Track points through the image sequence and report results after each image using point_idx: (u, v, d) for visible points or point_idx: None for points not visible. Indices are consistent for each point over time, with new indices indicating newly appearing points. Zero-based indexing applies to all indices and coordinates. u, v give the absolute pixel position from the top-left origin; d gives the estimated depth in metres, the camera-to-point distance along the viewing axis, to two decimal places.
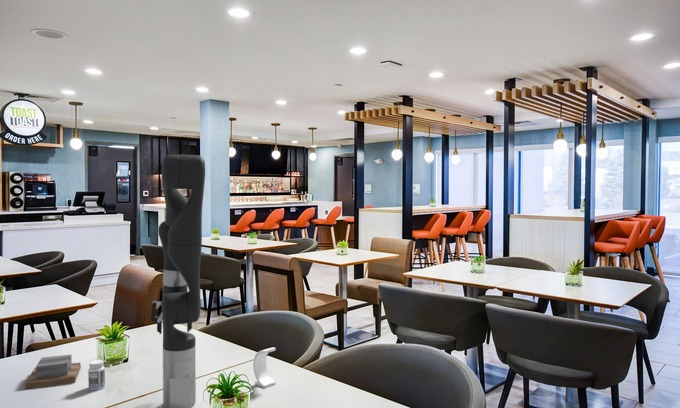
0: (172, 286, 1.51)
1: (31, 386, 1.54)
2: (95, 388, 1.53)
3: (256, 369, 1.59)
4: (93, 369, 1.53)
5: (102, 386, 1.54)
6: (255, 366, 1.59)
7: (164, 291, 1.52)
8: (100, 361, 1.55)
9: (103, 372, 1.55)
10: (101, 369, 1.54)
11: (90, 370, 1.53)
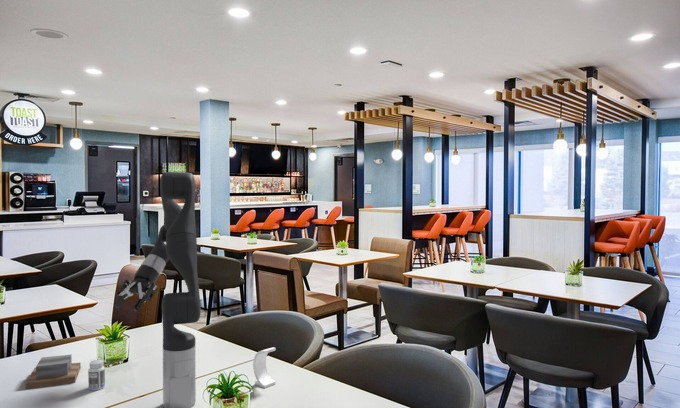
0: (142, 264, 1.73)
1: (31, 386, 1.54)
2: (95, 388, 1.53)
3: (256, 369, 1.59)
4: (93, 369, 1.53)
5: (102, 386, 1.54)
6: (255, 366, 1.59)
7: None
8: (100, 361, 1.55)
9: (103, 372, 1.55)
10: (101, 369, 1.54)
11: (90, 370, 1.53)
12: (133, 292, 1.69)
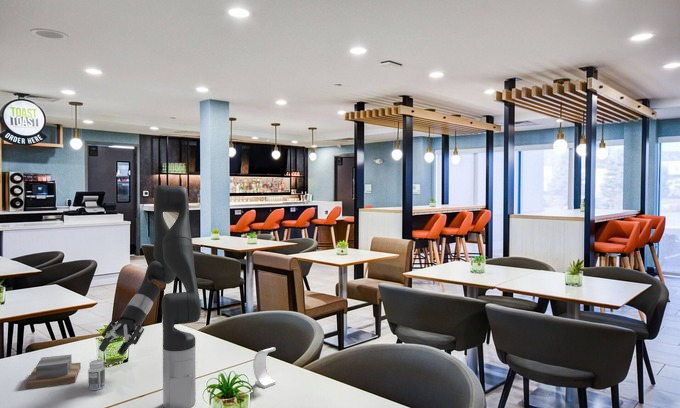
0: (129, 304, 1.68)
1: (31, 386, 1.54)
2: (95, 388, 1.53)
3: (256, 369, 1.59)
4: (93, 369, 1.53)
5: (102, 386, 1.54)
6: (255, 366, 1.59)
7: None
8: (100, 361, 1.55)
9: (103, 372, 1.55)
10: (101, 369, 1.54)
11: (90, 370, 1.53)
12: (119, 334, 1.64)
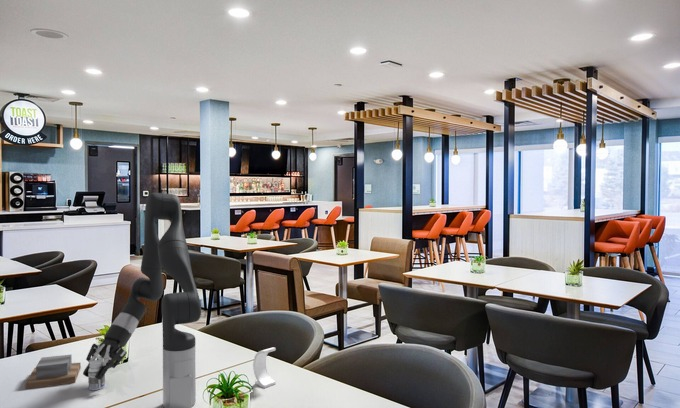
0: (113, 324, 1.62)
1: (31, 386, 1.54)
2: (95, 388, 1.53)
3: (256, 369, 1.59)
4: (93, 369, 1.53)
5: (102, 386, 1.54)
6: (255, 366, 1.59)
7: None
8: (100, 361, 1.55)
9: None
10: None
11: (90, 370, 1.53)
12: None
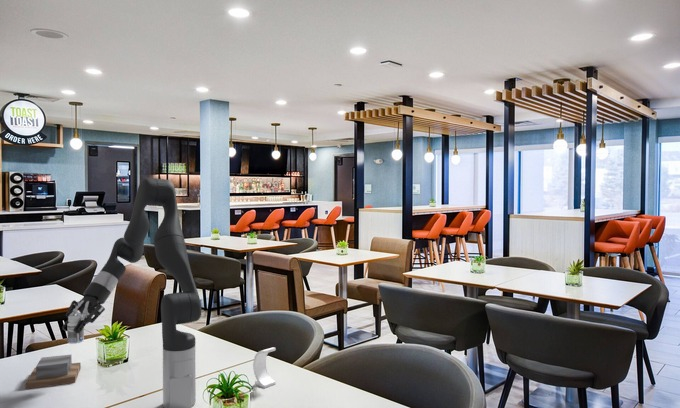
0: (92, 282, 1.66)
1: (31, 386, 1.54)
2: (74, 342, 1.57)
3: (256, 369, 1.59)
4: (72, 323, 1.57)
5: (81, 340, 1.59)
6: (255, 366, 1.59)
7: None
8: (79, 316, 1.60)
9: None
10: None
11: (69, 324, 1.57)
12: None
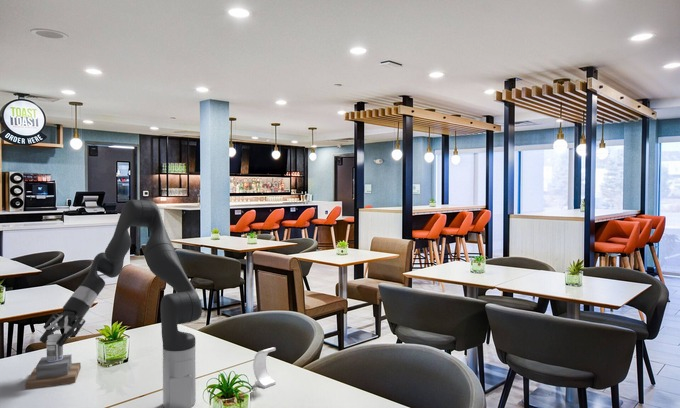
0: (71, 296, 1.69)
1: (31, 386, 1.54)
2: (53, 360, 1.61)
3: (256, 369, 1.59)
4: (51, 342, 1.61)
5: (60, 358, 1.62)
6: (255, 366, 1.59)
7: None
8: (58, 335, 1.63)
9: None
10: None
11: (48, 343, 1.61)
12: (60, 326, 1.65)
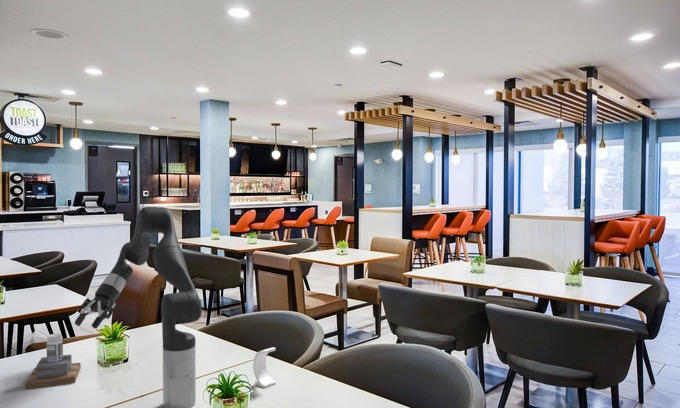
0: (102, 283, 1.81)
1: (31, 386, 1.54)
2: (53, 360, 1.61)
3: (256, 369, 1.59)
4: (51, 342, 1.61)
5: (60, 358, 1.62)
6: (255, 366, 1.59)
7: None
8: (58, 334, 1.63)
9: (61, 345, 1.63)
10: (59, 342, 1.62)
11: (48, 343, 1.61)
12: (93, 310, 1.77)
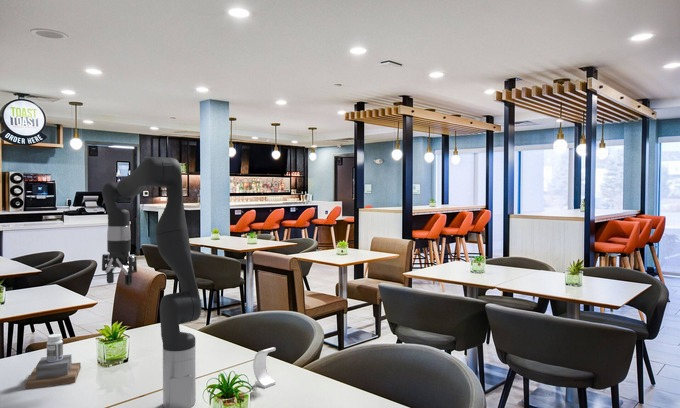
0: (108, 240, 1.68)
1: (31, 386, 1.54)
2: (53, 360, 1.61)
3: (256, 369, 1.59)
4: (51, 342, 1.61)
5: (60, 358, 1.62)
6: (255, 366, 1.59)
7: None
8: (58, 335, 1.63)
9: (61, 345, 1.63)
10: (59, 342, 1.62)
11: (48, 343, 1.61)
12: (117, 266, 1.71)
